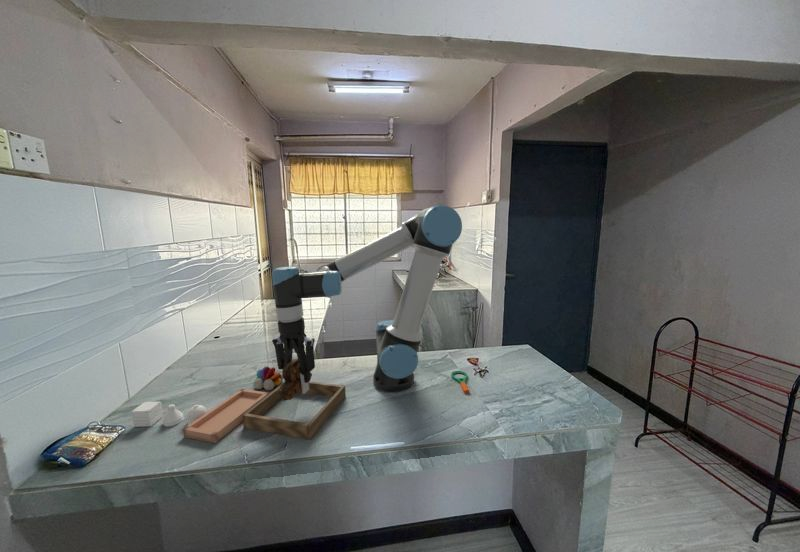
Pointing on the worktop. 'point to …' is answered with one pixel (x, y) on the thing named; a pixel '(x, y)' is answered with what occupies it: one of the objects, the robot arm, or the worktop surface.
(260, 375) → the rainbow ball cluster
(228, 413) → the tray
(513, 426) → the worktop surface
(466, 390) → the magnifying glass
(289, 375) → the wooden carving
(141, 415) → the container set
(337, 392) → the frame
